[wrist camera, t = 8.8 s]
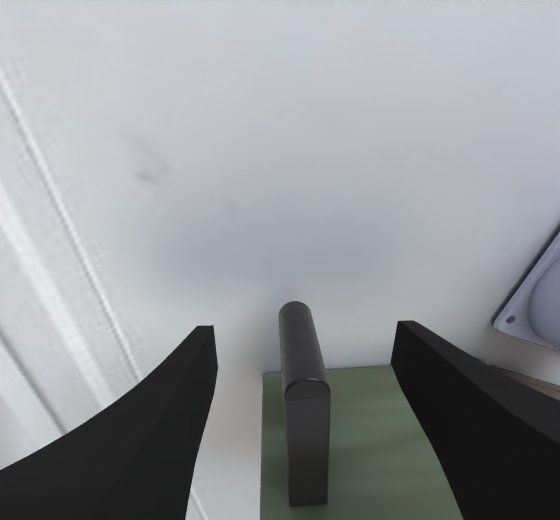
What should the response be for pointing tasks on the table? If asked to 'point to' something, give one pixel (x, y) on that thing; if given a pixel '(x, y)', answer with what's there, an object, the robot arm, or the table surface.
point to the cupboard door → (342, 440)
